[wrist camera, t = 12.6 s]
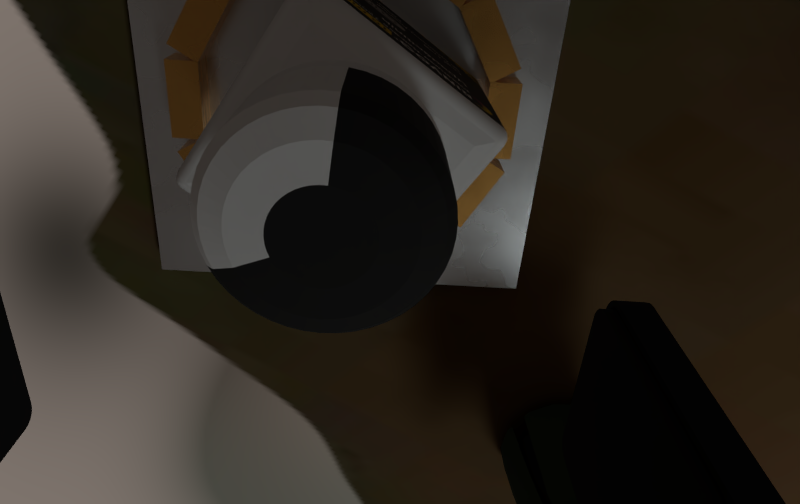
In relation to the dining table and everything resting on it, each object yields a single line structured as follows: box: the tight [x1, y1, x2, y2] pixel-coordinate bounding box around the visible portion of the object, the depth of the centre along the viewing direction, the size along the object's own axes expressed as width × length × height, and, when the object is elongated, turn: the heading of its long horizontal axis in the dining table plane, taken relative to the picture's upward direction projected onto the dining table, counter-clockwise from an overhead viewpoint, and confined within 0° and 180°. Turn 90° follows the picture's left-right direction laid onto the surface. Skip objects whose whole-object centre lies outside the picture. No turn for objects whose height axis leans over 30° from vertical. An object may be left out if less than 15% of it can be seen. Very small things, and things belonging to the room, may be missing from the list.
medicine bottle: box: [176, 0, 507, 333], centre depth 18 cm, size 7×7×12 cm
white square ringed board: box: [127, 0, 570, 289], centre depth 23 cm, size 16×16×2 cm
